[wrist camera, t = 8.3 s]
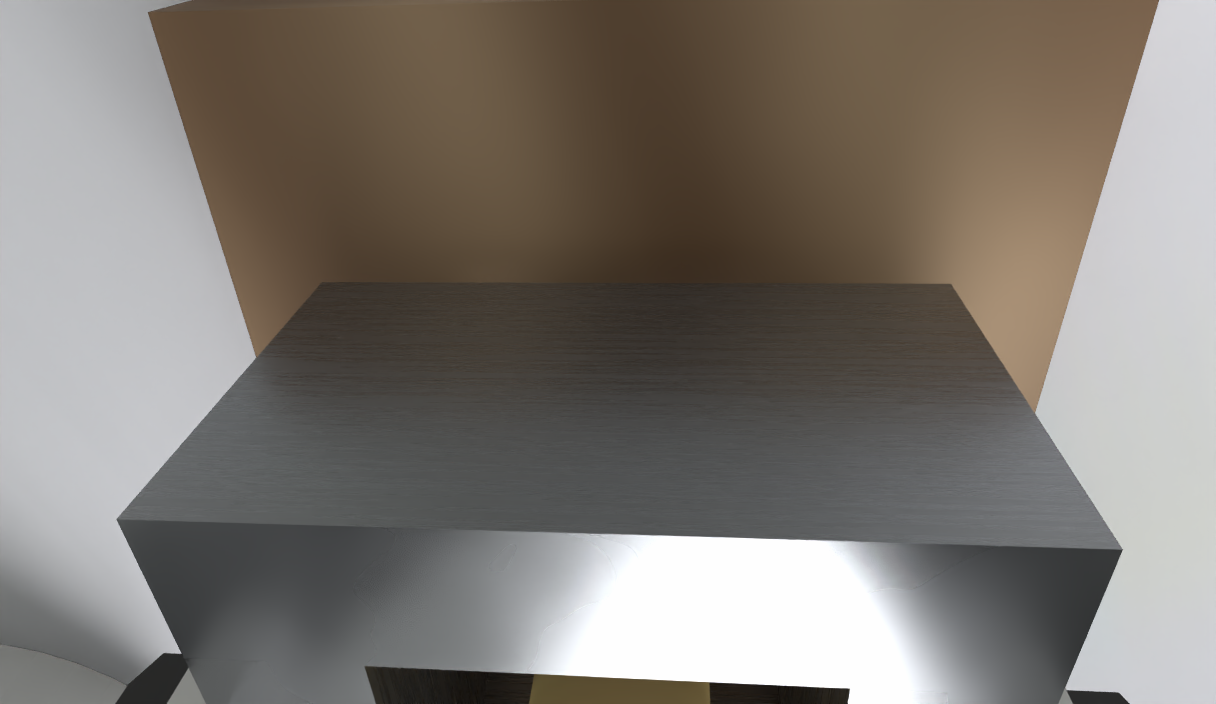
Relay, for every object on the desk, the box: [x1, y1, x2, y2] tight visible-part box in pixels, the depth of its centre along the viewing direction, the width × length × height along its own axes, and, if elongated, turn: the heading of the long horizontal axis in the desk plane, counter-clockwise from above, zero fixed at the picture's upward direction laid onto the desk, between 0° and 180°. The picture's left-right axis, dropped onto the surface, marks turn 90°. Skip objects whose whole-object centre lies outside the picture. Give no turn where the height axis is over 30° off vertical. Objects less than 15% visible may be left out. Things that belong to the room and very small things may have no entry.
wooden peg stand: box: [148, 0, 1159, 704], centre depth 13 cm, size 14×16×8 cm
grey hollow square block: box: [117, 282, 1123, 704], centre depth 12 cm, size 9×9×5 cm
